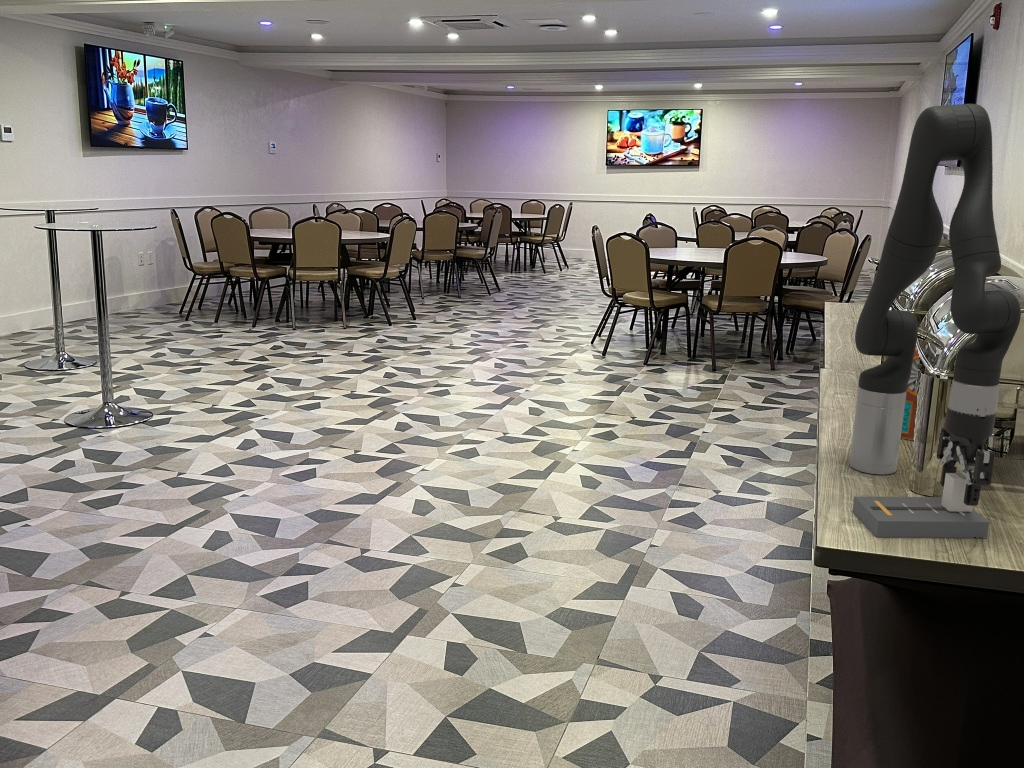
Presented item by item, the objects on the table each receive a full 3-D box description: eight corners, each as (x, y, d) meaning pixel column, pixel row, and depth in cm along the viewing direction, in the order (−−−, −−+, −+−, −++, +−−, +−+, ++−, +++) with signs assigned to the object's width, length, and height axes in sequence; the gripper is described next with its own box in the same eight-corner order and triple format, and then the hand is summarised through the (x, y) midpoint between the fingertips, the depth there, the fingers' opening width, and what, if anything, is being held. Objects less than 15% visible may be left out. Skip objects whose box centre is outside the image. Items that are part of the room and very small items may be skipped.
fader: (941, 504, 157) (946, 471, 156) (963, 504, 157) (968, 471, 156) (949, 511, 154) (954, 477, 153) (972, 511, 154) (977, 477, 153)
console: (852, 511, 162) (854, 495, 161) (955, 512, 162) (958, 496, 161) (876, 537, 151) (878, 520, 151) (986, 538, 151) (989, 521, 151)
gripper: (930, 395, 158) (919, 480, 162) (970, 419, 144) (956, 511, 148) (972, 395, 158) (959, 480, 162) (1016, 419, 144) (1001, 511, 148)
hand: (958, 495), depth 155 cm, fingers open, 8 cm apart
